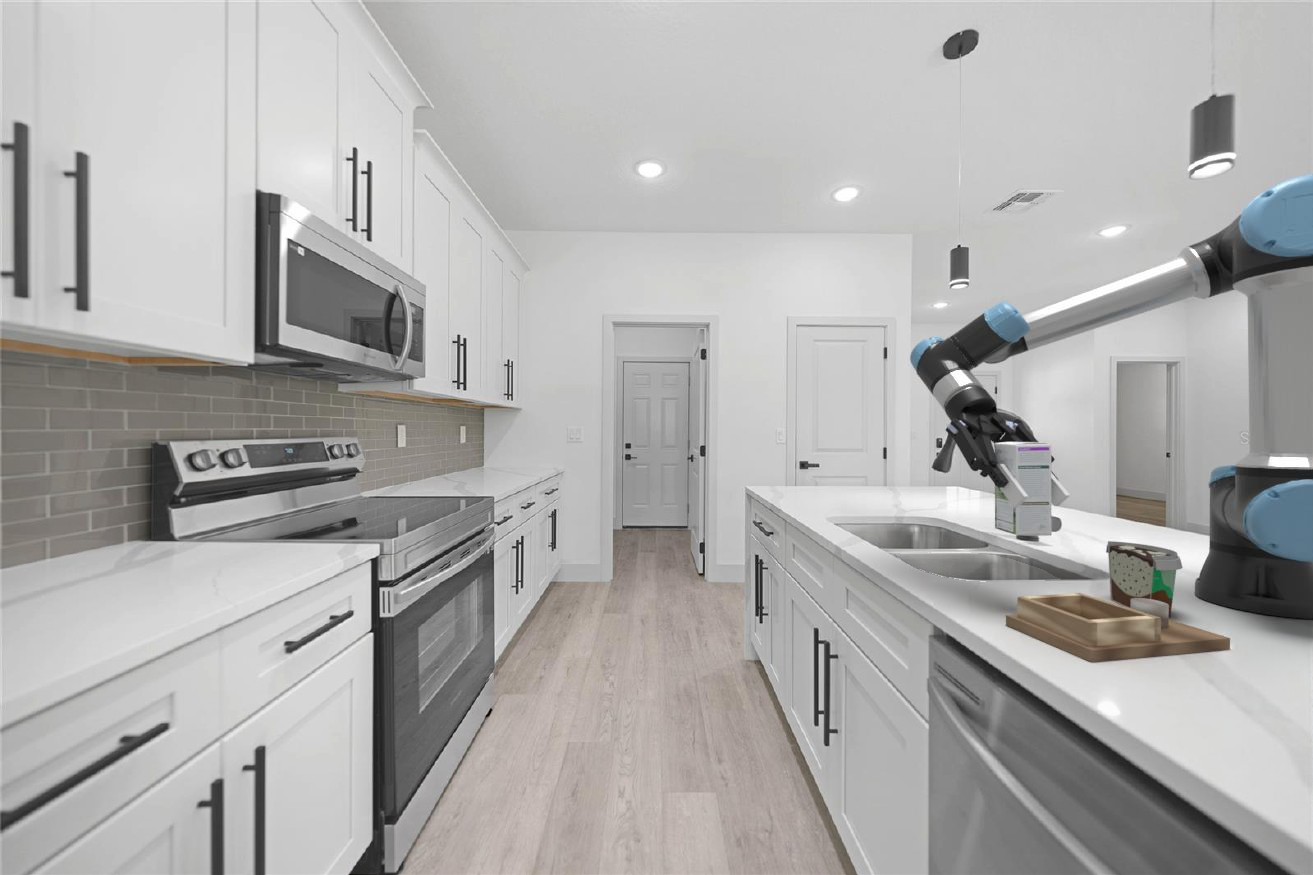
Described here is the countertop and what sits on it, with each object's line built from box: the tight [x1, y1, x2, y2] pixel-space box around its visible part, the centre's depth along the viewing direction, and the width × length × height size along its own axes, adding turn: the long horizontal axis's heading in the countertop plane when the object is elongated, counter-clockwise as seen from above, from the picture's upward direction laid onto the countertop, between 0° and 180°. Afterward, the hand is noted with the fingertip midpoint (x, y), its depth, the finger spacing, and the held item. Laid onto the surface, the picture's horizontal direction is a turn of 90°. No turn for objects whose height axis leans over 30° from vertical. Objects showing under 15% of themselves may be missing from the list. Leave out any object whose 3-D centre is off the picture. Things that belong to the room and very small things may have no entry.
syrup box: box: [994, 441, 1053, 537], centre depth 85 cm, size 6×6×14 cm
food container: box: [1105, 540, 1183, 619], centre depth 86 cm, size 12×6×10 cm, turn 168°
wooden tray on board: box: [1005, 592, 1231, 663], centre depth 75 cm, size 22×13×4 cm, turn 100°
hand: (1041, 501), depth 82 cm, fingers closed on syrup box, 7 cm apart
